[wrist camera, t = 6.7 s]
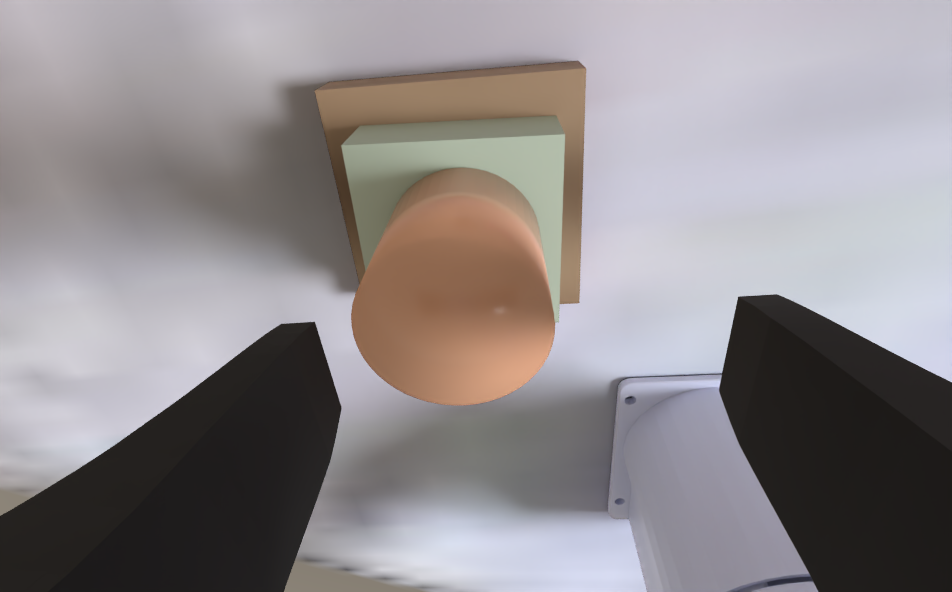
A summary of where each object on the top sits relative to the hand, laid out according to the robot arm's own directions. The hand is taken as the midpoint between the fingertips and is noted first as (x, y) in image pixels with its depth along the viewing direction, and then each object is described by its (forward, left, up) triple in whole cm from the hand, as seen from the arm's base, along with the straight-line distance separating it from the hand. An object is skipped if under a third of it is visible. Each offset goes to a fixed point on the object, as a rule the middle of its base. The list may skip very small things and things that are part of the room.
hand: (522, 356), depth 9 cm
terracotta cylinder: (-1, +1, -7) cm, 7 cm away
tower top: (-1, +2, -9) cm, 9 cm away
